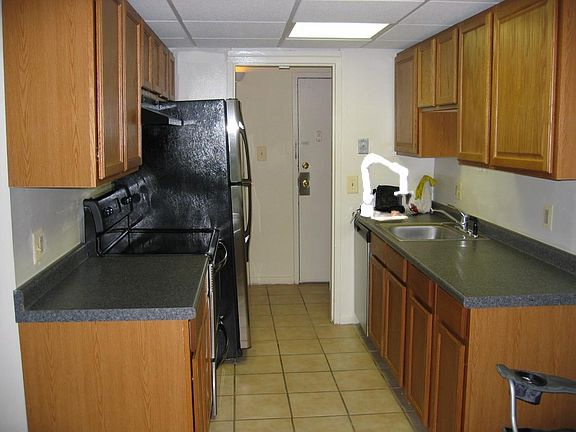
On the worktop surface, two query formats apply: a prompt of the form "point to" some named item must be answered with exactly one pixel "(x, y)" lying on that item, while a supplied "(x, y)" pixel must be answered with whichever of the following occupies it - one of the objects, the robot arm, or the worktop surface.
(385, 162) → the robot arm
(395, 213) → the carriage
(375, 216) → the gauge board
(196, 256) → the worktop surface
